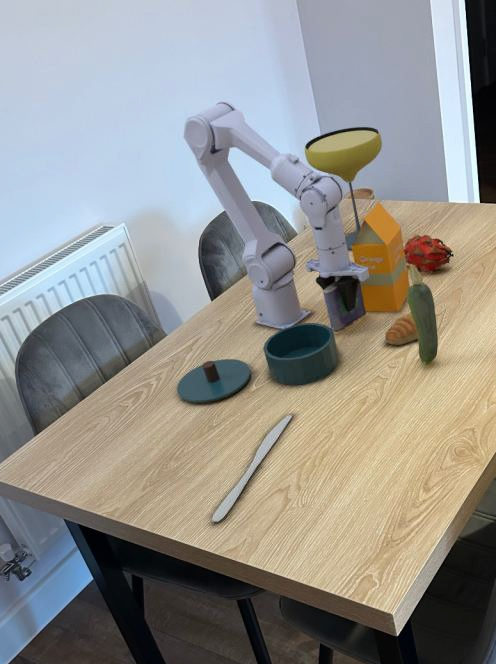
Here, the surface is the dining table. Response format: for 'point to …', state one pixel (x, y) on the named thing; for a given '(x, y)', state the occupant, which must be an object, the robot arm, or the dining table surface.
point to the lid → (213, 380)
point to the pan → (301, 353)
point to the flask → (342, 307)
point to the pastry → (402, 331)
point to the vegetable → (423, 315)
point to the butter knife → (250, 469)
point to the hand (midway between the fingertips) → (344, 307)
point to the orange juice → (381, 261)
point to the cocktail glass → (344, 157)
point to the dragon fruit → (427, 253)
